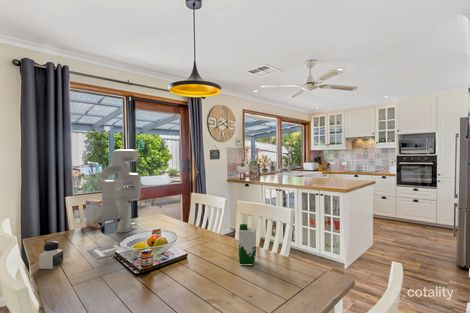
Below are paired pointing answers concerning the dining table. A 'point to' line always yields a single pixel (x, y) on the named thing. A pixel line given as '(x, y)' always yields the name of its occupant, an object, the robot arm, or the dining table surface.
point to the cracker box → (92, 212)
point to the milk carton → (247, 244)
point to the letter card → (104, 251)
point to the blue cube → (110, 228)
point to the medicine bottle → (51, 256)
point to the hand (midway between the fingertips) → (109, 231)
